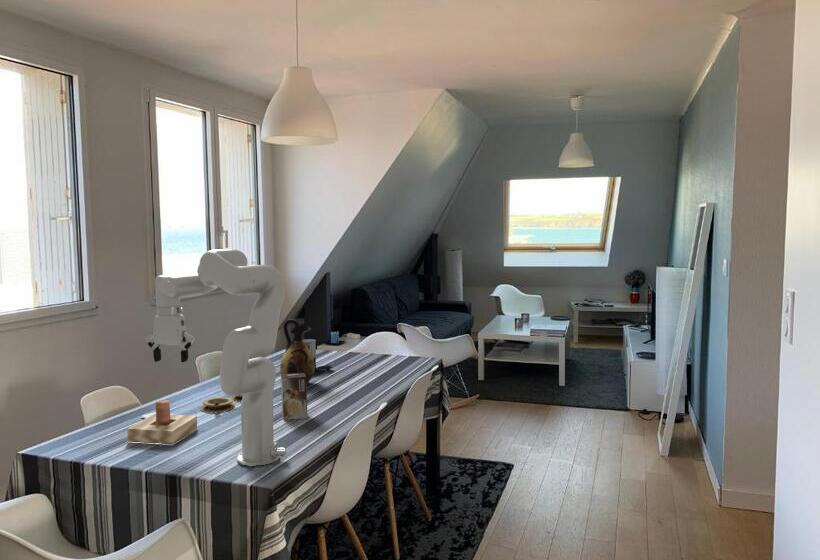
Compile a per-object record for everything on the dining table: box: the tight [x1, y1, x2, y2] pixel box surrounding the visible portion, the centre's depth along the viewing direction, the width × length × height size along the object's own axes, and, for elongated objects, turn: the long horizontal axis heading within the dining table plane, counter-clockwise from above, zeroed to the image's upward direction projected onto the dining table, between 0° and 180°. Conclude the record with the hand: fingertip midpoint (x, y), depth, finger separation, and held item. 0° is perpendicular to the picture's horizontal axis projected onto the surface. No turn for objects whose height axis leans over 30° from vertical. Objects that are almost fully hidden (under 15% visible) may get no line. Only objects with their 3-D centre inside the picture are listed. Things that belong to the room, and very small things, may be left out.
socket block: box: [126, 414, 198, 444], centre depth 206 cm, size 16×16×5 cm
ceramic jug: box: [279, 318, 316, 387], centre depth 272 cm, size 17×15×30 cm
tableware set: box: [199, 394, 244, 414], centre depth 246 cm, size 30×20×6 cm, turn 152°
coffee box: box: [280, 373, 308, 421], centre depth 227 cm, size 9×6×16 cm
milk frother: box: [302, 338, 333, 371], centre depth 300 cm, size 14×16×15 cm
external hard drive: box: [140, 411, 176, 419], centre depth 226 cm, size 2×8×12 cm
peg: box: [155, 399, 171, 426], centre depth 206 cm, size 4×4×12 cm
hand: (171, 361), depth 206 cm, fingers open, 9 cm apart
